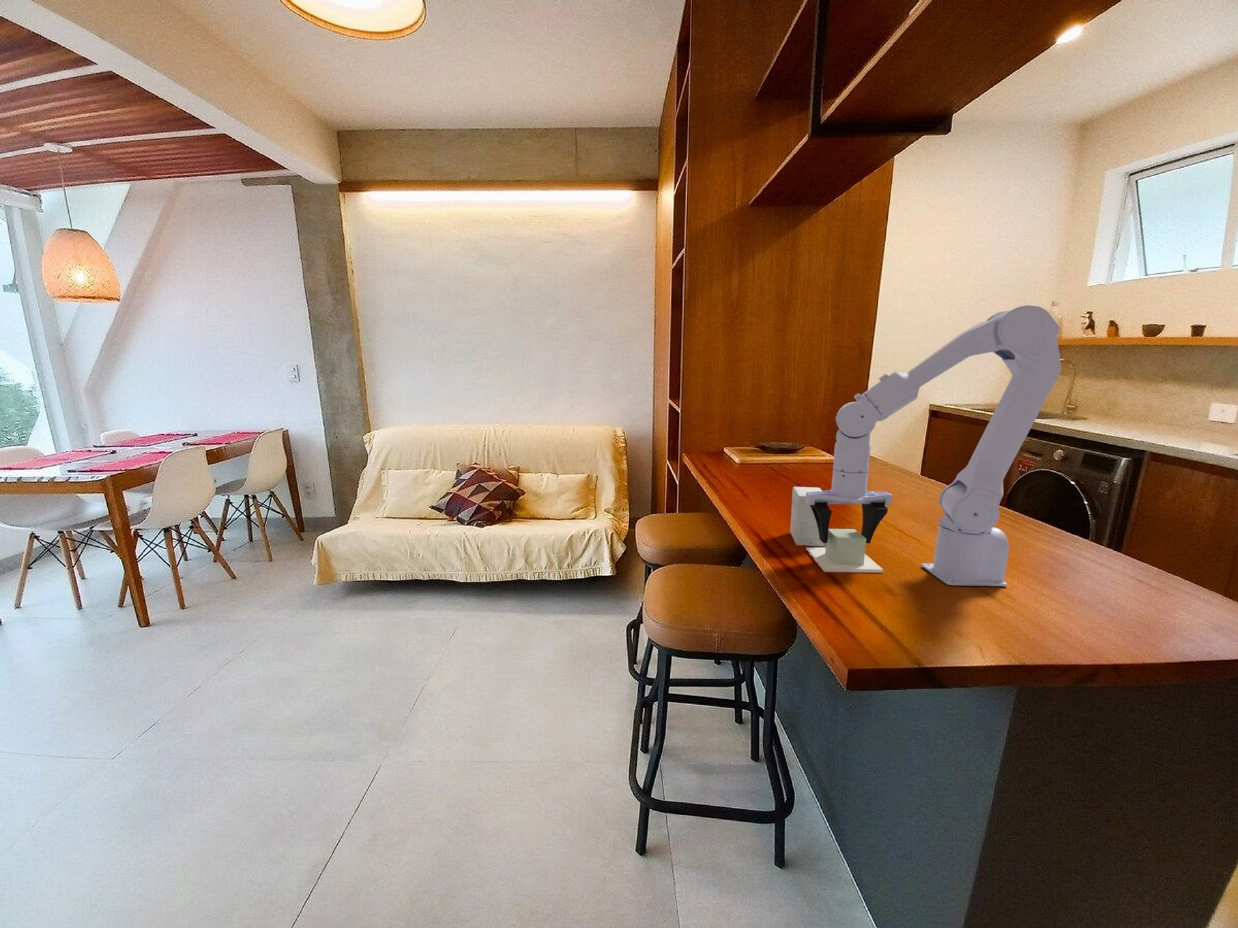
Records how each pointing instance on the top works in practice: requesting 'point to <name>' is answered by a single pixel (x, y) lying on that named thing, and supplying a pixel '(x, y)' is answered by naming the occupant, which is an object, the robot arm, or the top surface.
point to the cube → (845, 547)
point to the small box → (804, 519)
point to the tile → (831, 567)
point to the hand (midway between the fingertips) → (844, 541)
